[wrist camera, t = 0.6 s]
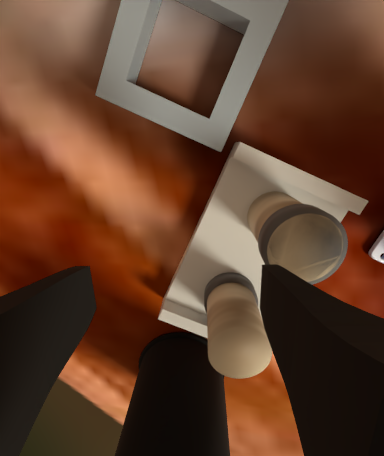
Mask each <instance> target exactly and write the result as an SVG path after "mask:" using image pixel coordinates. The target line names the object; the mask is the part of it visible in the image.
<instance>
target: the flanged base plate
mask: <svg viewBox="0 0 384 456" xmlns="http://www.w3.org/2000/svg"><path fill="white" fill-rule="evenodd" d="M272 191H278V192H283V193H286V194H288V195H289V196H291V197H293V198H295V199H296V200H298V201H300V202H301V203H303V204H309V205H313V206H315V207H318V208H320V209H321V210H323V211H325V212H327V213H329V214H330V215H332V216H334V217H335V218H336V219H337V220H338V221H339V222H340V223H341V221H342V220H343V218H344V216H345V215H346V213H347V212H348V210H349V211H351V212H354V213H356V214H358V215H360V213H361V212H362V210H363V209H364V207H365V206H366V204H367V203H368V201H367V200H365V199H363V198H361V197H359V196H356V195H354V194H352V193H350V192H348V191H346V190H343V189H341V188H339V187H337V186H335V185H333V184H330V183H328V182H326V181H324V180H322V179H320V178H317V177H315V176H313V175H311V174H309V173H307V172H304V171H302V170H300V169H298V168H296V167H294V166H291V165H289V164H287V163H285V162H283V161H281V160H278V159H276V158H274V157H272V156H270V155H268V154H265V153H263V152H261V151H259V150H257V149H254V148H252V147H250V146H248V145H246V144H244V143H241V142H235V143H234V145H233V148H232V150H231V152H230V154H229V156H228V159H227V161H226V163H225V165H224V167H223V169H222V172H221V174H220V176H219V178H218V180H217V183H216V185H215V187H214V189H213V191H212V193H211V196H210V198H209V200H208V202H207V204H206V206H205V209H204V211H203V213H202V215H201V217H200V220H199V222H198V224H197V226H196V228H195V230H194V233H193V235H192V237H191V239H190V241H189V244H188V246H187V248H186V250H185V252H184V254H183V257H182V259H181V261H180V263H179V265H178V268H177V270H176V272H175V274H174V276H173V278H172V281H171V283H170V285H169V287H168V289H167V292H166V294H165V296H164V298H163V302H162V306H161V309H160V313H159V317H158V319H159V320H161V321H164V322H167V323H169V324H172V325H174V326H177V327H180V328H182V329H185V330H187V331H190V332H193V333H195V334H198V335H200V336H203V337H206V338H208V334H207V313H206V311H205V307H204V291H205V288H206V285H207V284H208V282H209V281H210V280H211V279H212V278H214V277H215V276H217V275H219V274H222V273H227V272H234V273H238V274H241V275H243V276H245V277H247V278H248V279H249V280H250V281H251V283H252V284H253V286H254V289H255V291H256V294H257V297H258V309H259V312H260V293H261V274H262V265H265V263H264V261H263V259H262V257H261V255H260V253H259V249H258V242H257V241H256V239H255V237H254V235H253V233H252V232H251V230H250V228H249V226H248V221H247V215H248V210H249V208H250V206H251V204H252V203H253V201H254V200H255V199H256V198H258V197H259V196H261V195H262V194H265V193H267V192H272ZM260 315H261V312H260ZM261 318H262V316H261Z"/></svg>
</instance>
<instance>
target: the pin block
mask: <svg viewBox="0 0 384 456" xmlns="http://www.w3.org/2000/svg"><path fill="white" fill-rule="evenodd" d="M176 1H178V2H180V3H182V4H184V5H186V6H188V7H190V8H192V9H194V10H196V11H198V12H200V13H202V14H204V15H206V16H208V17H210V18H212V19H214V20H216V21H218V22H220V23H222V24H224V25H226V26H228V27H230V28H232V29H234V30H236V31H238V32H240V33H242V34H244V37H243V40H242V42H241V44H240V47H239V49H238V52H237V54H236V56H235V59H234V61H233V64H232V66H231V68H230V71H229V73H228V76H227V78H226V80H225V83H224V85H223V88H222V90H221V92H220V95H219V97H218V100H217V102H216V104H215V107H214V109H213V112H212V114H211V116H210V119H208V118H206V117H204V116H201V115H199V114H197V113H195V112H193V111H191V110H189V109H186V108H184V107H182V106H180V105H178V104H176V103H173V102H171V101H169V100H167V99H165V98H163V97H161V96H158V95H156V94H154V93H152V92H150V91H148V90H145V89H143V88H141V87H139V86H137V85H135V84H136V81H137V78H138V75H139V72H140V68H141V65H142V62H143V59H144V56H145V53H146V49H147V46H148V43H149V40H150V37H151V34H152V30H153V27H154V24H155V21H156V18H157V15H158V12H159V8H160V5H161V2H162V0H121V3H120V7H119V11H118V14H117V18H116V21H115V25H114V29H113V32H112V36H111V40H110V43H109V47H108V51H107V54H106V58H105V61H104V65H103V69H102V72H101V76H100V80H99V83H98V87H97V90H96V94H95V95H96V96H98V97H100V98H102V99H105V100H107V101H109V102H111V103H113V104H115V105H118V106H120V107H122V108H124V109H127V110H129V111H131V112H133V113H135V114H138V115H140V116H142V117H144V118H146V119H149V120H151V121H153V122H155V123H157V124H160V125H162V126H164V127H166V128H168V129H171V130H173V131H175V132H177V133H179V134H182V135H184V136H186V137H188V138H190V139H193V140H195V141H197V142H199V143H201V144H204V145H206V146H208V147H210V148H212V149H215V150H217V151H219V152H221V151H222V149H223V147H224V145H225V142H226V140H227V138H228V136H229V133H230V131H231V129H232V127H233V124H234V122H235V120H236V118H237V116H238V113H239V111H240V109H241V107H242V104H243V102H244V100H245V98H246V95H247V93H248V91H249V89H250V86H251V84H252V82H253V80H254V77H255V75H256V73H257V71H258V69H259V66H260V64H261V62H262V60H263V57H264V55H265V53H266V51H267V48H268V46H269V44H270V42H271V39H272V37H273V35H274V33H275V31H276V28H277V26H278V24H279V22H280V19H281V17H282V15H283V13H284V10H285V8H286V6H287V4H288V1H289V0H176Z"/></svg>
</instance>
